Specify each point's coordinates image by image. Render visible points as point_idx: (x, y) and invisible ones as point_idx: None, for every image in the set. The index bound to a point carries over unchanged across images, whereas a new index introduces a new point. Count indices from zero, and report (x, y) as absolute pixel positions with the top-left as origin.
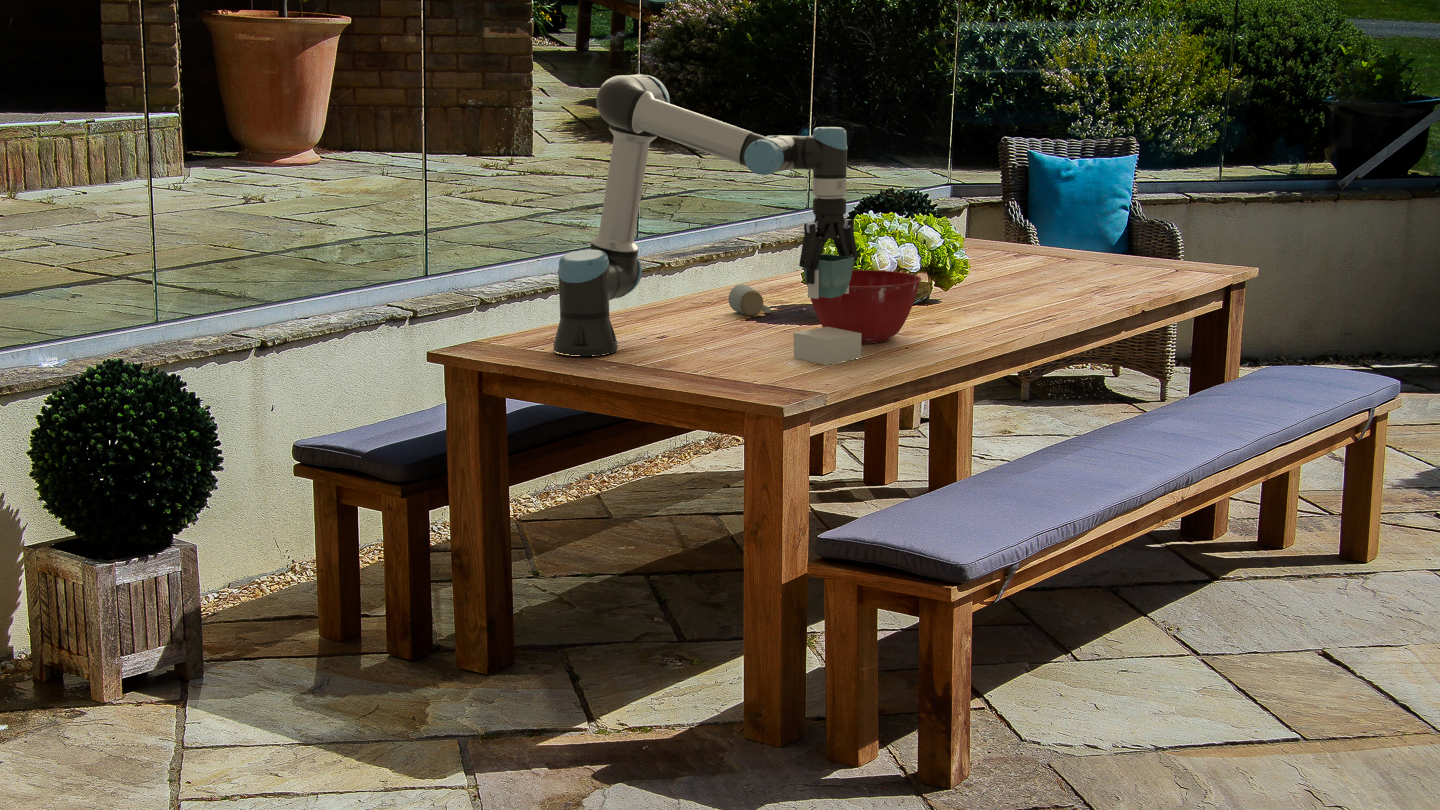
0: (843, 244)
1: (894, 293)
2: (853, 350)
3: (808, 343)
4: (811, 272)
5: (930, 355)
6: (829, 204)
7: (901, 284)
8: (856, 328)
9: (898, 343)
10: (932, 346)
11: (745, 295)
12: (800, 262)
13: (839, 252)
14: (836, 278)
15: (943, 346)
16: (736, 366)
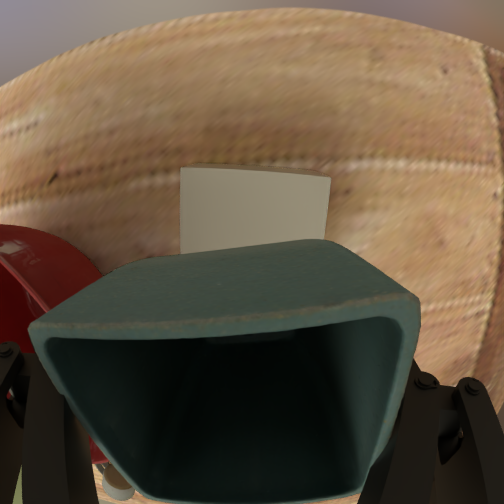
0: (49, 488)
1: None
2: (221, 165)
3: None
4: (415, 370)
5: (70, 92)
6: None
7: None
8: (97, 275)
9: (40, 221)
10: (19, 157)
11: (126, 487)
12: (460, 435)
13: (85, 455)
14: (307, 248)
15: (10, 145)
16: (427, 302)
